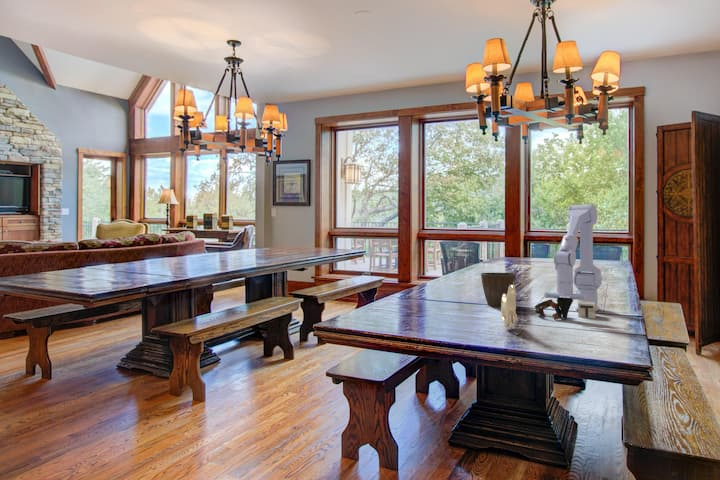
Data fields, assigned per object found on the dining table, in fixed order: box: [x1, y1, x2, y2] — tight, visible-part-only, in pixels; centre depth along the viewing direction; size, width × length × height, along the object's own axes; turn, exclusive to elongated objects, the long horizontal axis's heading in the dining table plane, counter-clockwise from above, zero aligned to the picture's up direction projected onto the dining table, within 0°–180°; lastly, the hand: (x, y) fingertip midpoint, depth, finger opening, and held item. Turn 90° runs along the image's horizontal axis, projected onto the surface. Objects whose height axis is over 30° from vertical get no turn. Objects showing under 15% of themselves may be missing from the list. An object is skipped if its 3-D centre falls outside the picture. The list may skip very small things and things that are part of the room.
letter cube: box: [577, 302, 596, 319], centre depth 192 cm, size 6×6×6 cm
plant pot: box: [480, 272, 517, 309], centre depth 213 cm, size 15×15×16 cm
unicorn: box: [500, 282, 519, 329], centre depth 172 cm, size 20×4×17 cm, turn 174°
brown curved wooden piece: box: [534, 298, 563, 321], centre depth 191 cm, size 12×9×8 cm
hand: (564, 317), depth 186 cm, fingers closed
